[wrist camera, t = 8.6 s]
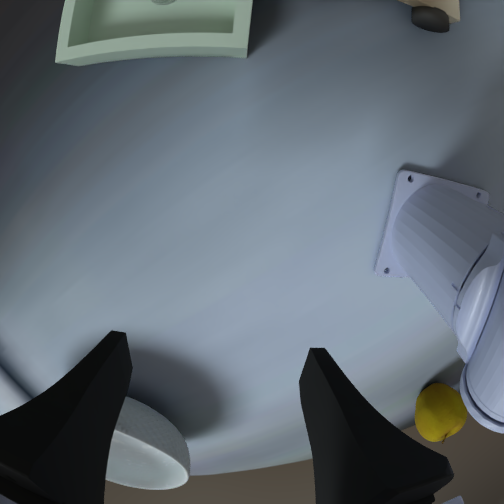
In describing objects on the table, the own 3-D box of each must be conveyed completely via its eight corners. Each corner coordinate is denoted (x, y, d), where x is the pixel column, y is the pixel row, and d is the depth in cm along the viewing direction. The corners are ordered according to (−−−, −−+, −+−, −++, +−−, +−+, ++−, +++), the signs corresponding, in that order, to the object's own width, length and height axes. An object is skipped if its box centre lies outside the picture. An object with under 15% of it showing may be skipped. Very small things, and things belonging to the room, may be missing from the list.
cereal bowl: (224, 420, 30) (222, 475, 24) (151, 455, 35) (145, 496, 29) (86, 339, 24) (57, 395, 18) (47, 397, 29) (28, 438, 23)
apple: (399, 394, 29) (421, 449, 22) (444, 364, 28) (474, 415, 21) (413, 411, 32) (432, 459, 24) (453, 384, 30) (478, 430, 23)
